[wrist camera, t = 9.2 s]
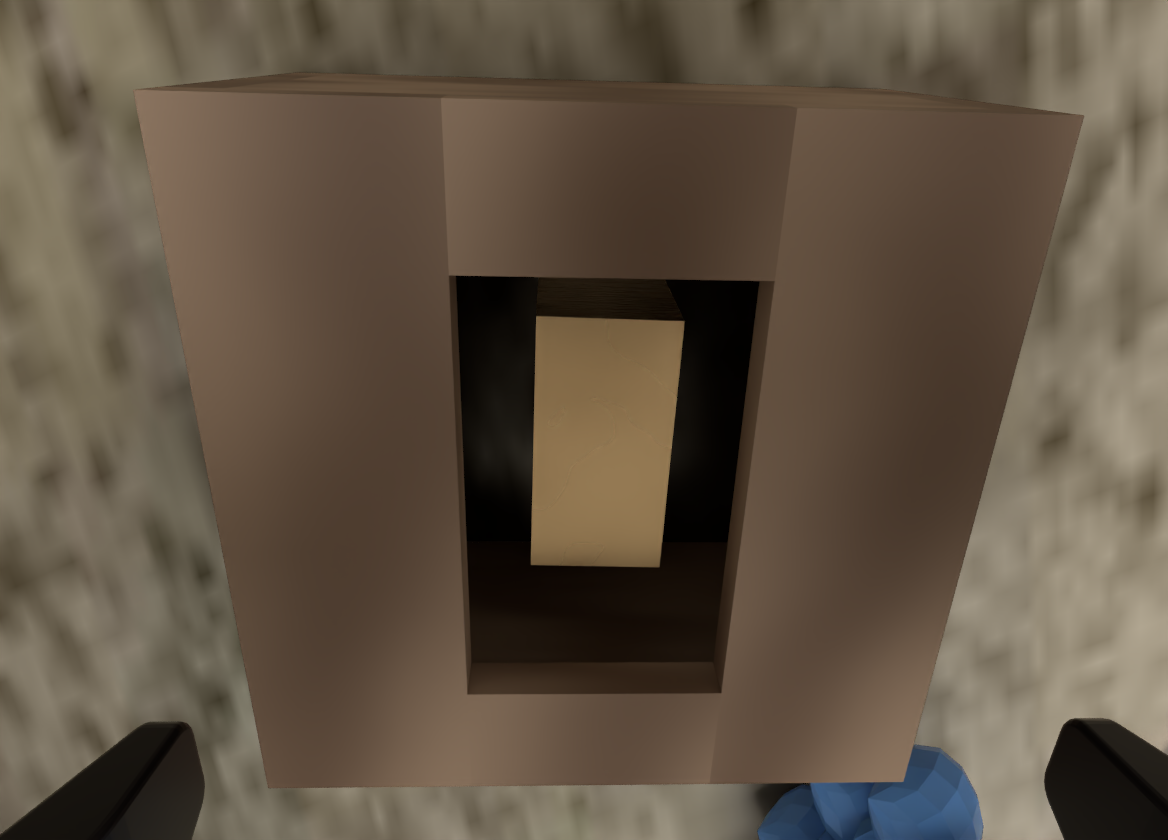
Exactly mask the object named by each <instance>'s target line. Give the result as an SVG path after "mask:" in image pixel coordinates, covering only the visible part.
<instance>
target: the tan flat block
mask: <svg viewBox="0 0 1168 840" xmlns="http://www.w3.org/2000/svg"><path fill="white" fill-rule="evenodd" d="M684 323H685V321H684V319H683V317H682V315H681V312H680V310H679V308H678V306H677V304H676V302H675V300H674V298H673V296H672V294H671V291H670V289H669V287H668V285H667V283H666V281H665V279H622V278H566V277H539V280H538V296H537V312H536V349H535V394H534V440H533V486H532V532H531V565H559V566H615V567H659V566H660V557H661V547H662V537H663V528H664V518H665V508H666V498H667V489H668V479H669V469H670V459H671V450H672V440H673V430H674V421H675V411H676V401H677V391H678V382H679V372H680V362H681V353H682V343H683V333H684Z"/></svg>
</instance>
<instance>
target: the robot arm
mask: <svg viewBox="0 0 1168 840" xmlns="http://www.w3.org/2000/svg"><path fill="white" fill-rule="evenodd" d="M1044 783H1045V791H1046V795H1047V798H1048V801H1049V804H1050V806H1051V809H1052V811H1053V813H1054V816H1055V818H1056V821H1057V823H1058V826H1059V828H1060V830H1061V833H1062V835H1063V838H1064V840H1168V755H1167V754H1165V753H1163V752H1162V751H1160V750H1159V749H1157V748H1156V747H1154V746H1152V745H1151V744H1149V743H1148V742H1146V741H1145V740H1143V739H1142V738H1140V737H1138V736H1137V735H1135V734H1134V733H1132V732H1131V731H1129V730H1127V729H1126V728H1124V727H1123V726H1121V725H1120V724H1118V723H1116V722H1114V721H1112V720H1109V719H1104V718H1074V719H1070V720H1069V721H1067V722H1066V723H1065V724H1064V725H1063V727H1062V729H1061V731H1060V734H1059V737H1058V739H1057V742H1056V745H1055V747H1054V750H1053V753H1052V755H1051V758H1050V761H1049V763H1048V766H1047V769H1046V772H1045V779H1044ZM204 789H205V783H204V776H203V771H202V767H201V763H200V759H199V755H198V751H197V746H196V742H195V738H194V734H193V731H192V728H191V727H190V726H189V725H188V724H187V723H184V722H148V723H145V724H143V725H141V726H139V727H138V728H136V729H135V730H133V731H132V732H131V733H130V734H128V735H127V736H126V737H125V738H123V739H122V740H121V741H119V742H118V743H117V744H116V745H114V746H113V747H112V748H110V749H109V750H108V751H107V752H105V753H104V754H103V755H101V756H100V757H99V758H98V759H96V760H95V761H94V762H93V763H91V764H90V765H89V766H87V767H86V768H85V769H84V770H82V771H81V772H80V773H78V774H77V775H76V776H75V777H73V778H72V779H71V780H69V781H68V782H67V783H66V784H64V785H63V786H62V787H61V788H59V789H58V790H57V791H55V792H54V793H53V794H52V795H50V796H49V797H48V798H46V799H45V800H44V801H43V802H41V803H40V804H39V805H37V806H36V807H35V808H34V809H32V810H31V811H30V812H29V813H27V814H26V815H25V816H23V817H22V818H21V819H20V820H18V821H17V822H16V823H14V824H13V825H12V826H11V827H9V828H8V829H7V830H5V831H4V832H3V833H2V834H0V840H192V837H193V833H194V830H195V827H196V823H197V820H198V817H199V813H200V810H201V807H202V803H203V798H204Z"/></svg>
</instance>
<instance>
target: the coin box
mask: <svg viewBox="0 0 1168 840" xmlns="http://www.w3.org/2000/svg"><path fill="white" fill-rule="evenodd" d="M133 92H134V97H135V102H136V107H137V112H138V117H139V123H140V128H141V133H142V138H143V143H144V148H145V154H146V159H147V164H148V169H149V174H150V179H151V185H152V190H153V195H154V200H155V205H156V210H157V216H158V221H159V226H160V231H161V236H162V242H163V247H164V252H165V257H166V262H167V267H168V273H169V278H170V283H171V288H172V293H173V298H174V304H175V309H176V314H177V319H178V324H179V329H180V335H181V340H182V345H183V350H184V355H185V360H186V366H187V371H188V376H189V381H190V386H191V391H192V397H193V402H194V407H195V412H196V417H197V422H198V428H199V433H200V438H201V443H202V448H203V453H204V459H205V464H206V469H207V474H208V479H209V484H210V490H211V495H212V500H213V505H214V510H215V516H216V521H217V526H218V531H219V536H220V541H221V547H222V552H223V557H224V562H225V567H226V572H227V578H228V583H229V588H230V593H231V598H232V603H233V609H234V614H235V619H236V624H237V629H238V634H239V640H240V645H241V650H242V655H243V660H244V665H245V671H246V676H247V681H248V686H249V691H250V696H251V702H252V707H253V712H254V717H255V722H256V727H257V733H258V738H259V743H260V748H261V753H262V758H263V764H264V769H265V774H266V779H267V784H268V788H329V787H433V786H537V785H641V784H745V783H849V782H903V781H904V778H905V774H906V770H907V767H908V763H909V759H910V756H911V752H912V748H913V745H914V741H915V737H916V734H917V730H918V726H919V722H920V719H921V715H922V711H923V708H924V704H925V700H926V697H927V693H928V689H929V686H930V682H931V678H932V675H933V671H934V667H935V664H936V660H937V656H938V652H939V649H940V645H941V641H942V638H943V634H944V630H945V627H946V623H947V619H948V616H949V612H950V608H951V605H952V601H953V597H954V594H955V590H956V586H957V582H958V579H959V575H960V571H961V568H962V564H963V560H964V557H965V553H966V549H967V546H968V542H969V538H970V535H971V531H972V527H973V524H974V520H975V516H976V512H977V509H978V505H979V501H980V498H981V494H982V490H983V487H984V483H985V479H986V476H987V472H988V468H989V465H990V461H991V457H992V454H993V450H994V446H995V442H996V439H997V435H998V431H999V428H1000V424H1001V420H1002V417H1003V413H1004V409H1005V406H1006V402H1007V398H1008V395H1009V391H1010V387H1011V384H1012V380H1013V376H1014V372H1015V369H1016V365H1017V361H1018V358H1019V354H1020V350H1021V347H1022V343H1023V339H1024V336H1025V332H1026V328H1027V325H1028V321H1029V317H1030V314H1031V310H1032V306H1033V302H1034V299H1035V295H1036V291H1037V288H1038V284H1039V280H1040V277H1041V273H1042V269H1043V266H1044V262H1045V258H1046V255H1047V251H1048V247H1049V244H1050V240H1051V236H1052V232H1053V229H1054V225H1055V221H1056V218H1057V214H1058V210H1059V207H1060V203H1061V199H1062V196H1063V192H1064V188H1065V185H1066V181H1067V177H1068V174H1069V170H1070V166H1071V162H1072V159H1073V155H1074V151H1075V148H1076V144H1077V140H1078V137H1079V133H1080V129H1081V126H1082V122H1083V118H1084V116H1083V115H1076V114H1068V113H1061V112H1053V111H1045V110H1038V109H1030V108H1023V107H1015V106H1008V105H1000V104H993V103H985V102H977V101H970V100H962V99H955V98H947V97H940V96H932V95H924V94H917V93H909V92H902V91H894V90H887V89H866V88H830V87H795V86H760V85H724V84H689V83H654V82H619V81H583V80H548V79H513V78H477V77H442V76H407V75H371V74H336V73H301V72H297V73H287V74H278V75H268V76H259V77H249V78H240V79H230V80H221V81H212V82H202V83H193V84H183V85H174V86H164V87H155V88H145V89H136V90H133ZM456 276H509V277H566V278H622V279H679V280H735V281H760V282H759V290H758V298H757V306H756V315H755V323H754V331H753V339H752V347H751V356H750V364H749V372H748V380H747V389H746V397H745V405H744V413H743V421H742V430H741V438H740V446H739V454H738V462H737V471H736V479H735V487H734V495H733V503H732V512H731V520H730V528H729V536H728V542H662V547H661V557H660V566H659V567H615V566H559V565H531V542H483V541H467V539H466V514H465V490H464V465H463V440H462V416H461V391H460V366H459V342H458V317H457V292H456Z"/></svg>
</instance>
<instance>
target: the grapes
mask: <svg viewBox="0 0 1168 840" xmlns="http://www.w3.org/2000/svg"><path fill="white" fill-rule="evenodd" d="M757 832H758V836H759V840H982V834H983V822H982V817H981V812H980V807H979V802H978V798H977V794H976V792H975V790H974V789H973V787H972V785H971V783H970V781H969V779H968V777H967V775H966V773H965V771H964V769H963V768H962V766H960V765H959V764H958V763H957V762H956V761H955V760H953V759H952V758H951V757H950V756H949V755H947V754H946V753H945V752H944V751H943V750H942V749H940V748H937V747H929V746H922V745H913V748H912V752H911V756H910V759H909V763H908V767H907V770H906V774H905V778H904V781H903V782H849V783H810V785H804V784H802V785H800V786H798V787H796V788H794V789H792V790H790V791H788V792H786V793H784V794H783V796H782V797H781V798H780V799H779V800H778V802H777V803H776V804H775V805H774V806H773V807H772V809H771V810H770V811H769V812H768V814H767V815H766V817H765V818H764V820H763V822H762V824H761V826H760V827H759V829H758V831H757Z"/></svg>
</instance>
